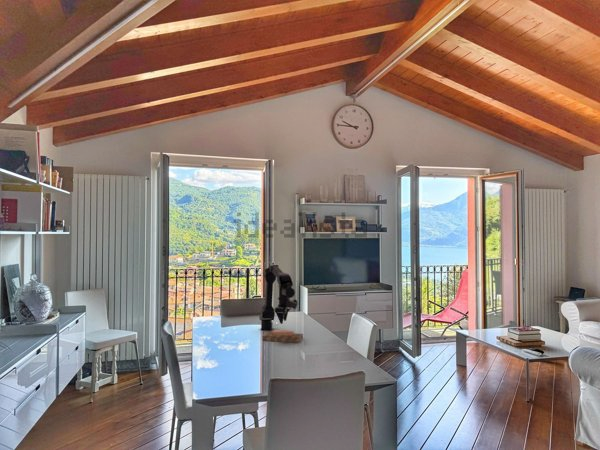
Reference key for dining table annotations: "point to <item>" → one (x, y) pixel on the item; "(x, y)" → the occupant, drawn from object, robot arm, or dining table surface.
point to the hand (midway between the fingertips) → (283, 322)
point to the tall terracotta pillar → (283, 332)
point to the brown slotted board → (283, 337)
